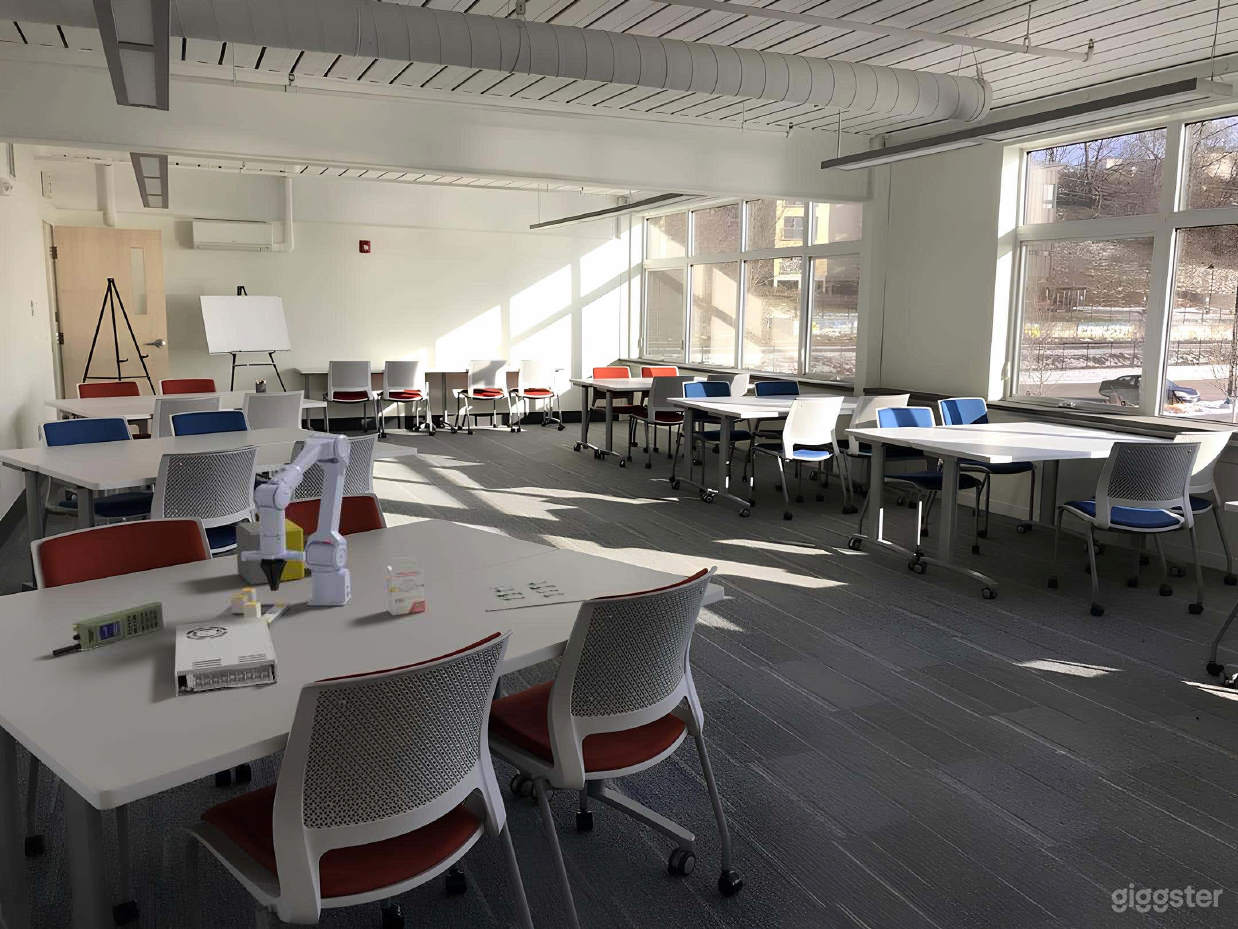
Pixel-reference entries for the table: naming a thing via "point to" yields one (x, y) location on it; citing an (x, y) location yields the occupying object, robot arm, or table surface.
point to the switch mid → (238, 603)
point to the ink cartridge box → (405, 585)
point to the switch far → (249, 594)
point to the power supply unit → (225, 653)
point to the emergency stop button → (251, 542)
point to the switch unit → (267, 610)
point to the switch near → (252, 610)
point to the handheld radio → (116, 627)
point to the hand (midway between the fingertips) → (274, 589)
